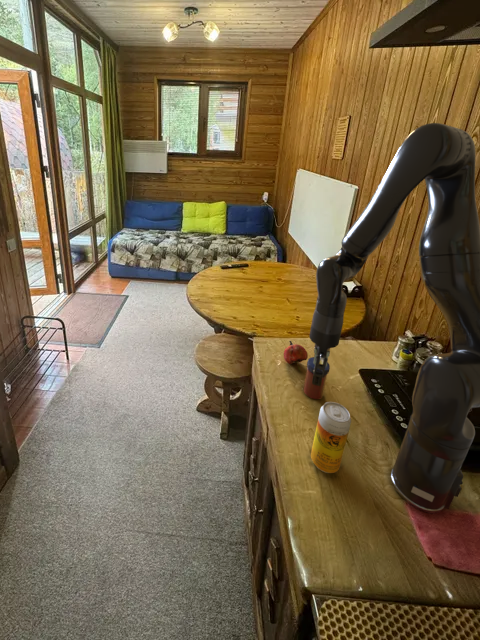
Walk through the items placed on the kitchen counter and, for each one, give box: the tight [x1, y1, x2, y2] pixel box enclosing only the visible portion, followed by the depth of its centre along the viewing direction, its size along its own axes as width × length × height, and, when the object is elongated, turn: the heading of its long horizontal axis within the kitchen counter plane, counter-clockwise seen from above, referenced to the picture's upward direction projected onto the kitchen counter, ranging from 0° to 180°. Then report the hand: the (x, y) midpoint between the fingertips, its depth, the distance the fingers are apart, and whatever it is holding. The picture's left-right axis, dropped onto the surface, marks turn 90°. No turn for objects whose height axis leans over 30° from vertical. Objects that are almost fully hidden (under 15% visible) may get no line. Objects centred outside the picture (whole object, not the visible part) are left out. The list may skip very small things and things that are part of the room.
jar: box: [303, 367, 328, 400], centre depth 89 cm, size 5×5×10 cm
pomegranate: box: [283, 340, 309, 372], centre depth 101 cm, size 7×7×10 cm
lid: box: [306, 356, 331, 376], centre depth 87 cm, size 6×6×2 cm
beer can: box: [310, 401, 352, 474], centre depth 67 cm, size 6×6×15 cm
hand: (317, 374), depth 88 cm, fingers open, 8 cm apart
